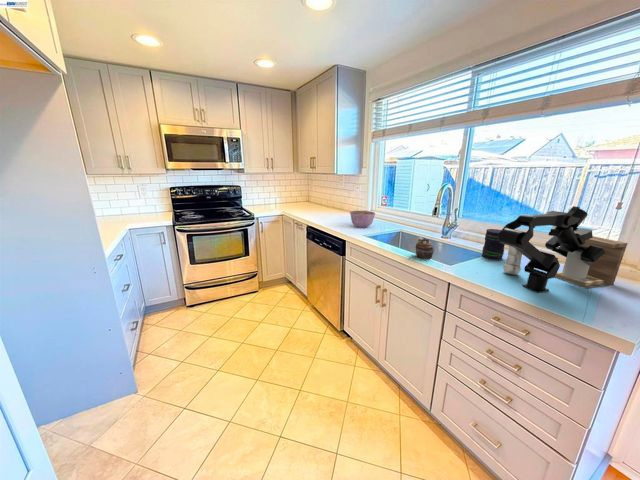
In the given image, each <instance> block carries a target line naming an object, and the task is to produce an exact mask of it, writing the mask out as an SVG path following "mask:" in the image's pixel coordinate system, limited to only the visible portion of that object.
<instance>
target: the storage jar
mask: <svg viewBox="0 0 640 480" xmlns="http://www.w3.org/2000/svg"><path fill="white" fill-rule="evenodd" d="M501 230H502V229H496V228H495V229H494V228H488V229H486V231H485V236H484V245H483V247H482V253H481V257H482V258H484V259H486V260H490V261H502V260H503V257H504V254H505V253H504V252H505V244H502V243H500V242H499V240H498V239H499V238H498V234H499V232H500V231H501Z"/></svg>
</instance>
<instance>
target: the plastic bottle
mask: <svg viewBox="0 0 640 480" xmlns="http://www.w3.org/2000/svg"><path fill="white" fill-rule="evenodd" d="M522 257H523V254H522V253H520V252H519V251H518V250H517V249H515V248H514V247H511V246H508V250H507V256H506V259H505V262H504V264H503V268H502V270H503V272H504V273H505V274H507V275H512V276H513V275H514V276H517V275H519V274H520V272H521V262H522Z"/></svg>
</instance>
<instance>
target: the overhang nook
mask: <svg viewBox="0 0 640 480" xmlns="http://www.w3.org/2000/svg"><path fill="white" fill-rule="evenodd" d="M592 236H593V238H590V239H588V240H586V241H585V244H584V245H581V246H584V247H589V246H590V245H594V246H598V247H602V248H604V250H605V253H604V254H603V255H602V256H601V257H600V258H599V259H597V260H596V261H595V262H593V264H592V265H591V266H590V267H589V270H588V273H587V276H586V278H584V279H581V280H579V279H573V278H569V277H566V276H565V275H564V274H563V273H562V271H560V272H559V271H557V274H556V276H555V277H554V278H555V279H558V280H560V281H563V282H566V283H569V284H571V285H575V286H577V287H580V288H583V289H592V288H599V287H601V288H602V287H606V286H614V285H615V282H616V278H617V275H618V273H619V270H620V267H621V264H622V261H623V258H624V255H625V252H626V249H627V246H628V242H624V241H618V240H614V239H610V238H609V239H608V238H604V237H598V236H594V235H592Z"/></svg>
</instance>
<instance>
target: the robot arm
mask: <svg viewBox="0 0 640 480" xmlns="http://www.w3.org/2000/svg"><path fill="white" fill-rule="evenodd" d="M587 217H588V212H586V211H585V210H583V209H582V208H580V206H574V205H573V206H572V207H571V208H570V209H569V210H568V211H567V212H564V211H555V210H550V211H546V212H545V213H542V214H525V213H524V214H520V215H519V216H517V218H516V219H515V220H512V221H510V222H509V223H506V224H505V225H504V226H503V228H502V229H500V230H501V231H500V232H499V234H498V238H499V239H498V240H499V242H500V243H502V244H505V245H506V246H508V247H509V246H511V247H514V248H515V249H517V250H518V251H519V252H520V253H522V256H524V257H525V258H526V259H528V260H529V261H528V262H527V264H526V265H525V266H524V272H525V273H529V274H528V278H527V283H525V284H522V287H523V288H525V289H529V290H531V291H533V292H535V293H546V292H550V289H549V288H547V285H548V281H549V280H550V279H554V278H555V276H556V274H557V273H558V272H559V269H560V267H561V263H560V261H559V257H556V255H555V254H553V253H549V252H545V251H541V250H539V249H538V248H537V247H536V246H534V244H532V243H531V242H530V241H531V240H532V239H533V237H534V229H535V228H536V227H541V226H542V227H546V226H552V227H551V229H550V231H549V232H548V236H550V238H549V240H548V241H546V242H545V244H544V247H545V248H546V249H548V250H550V251H551V252H554V253H557V254H558V255H559V256H562V257H564V258H566V257H567V254H568V252H571V253H573V252H574V251H579V252H582V253H581V260H582V261H583V262H585V263H586V264H588V265H590V266H591V265H592V264H593V262H595V261H596V260H597V259H599V258H600V257H601V256H602V255H603V254H604V253H605V250H604V248H602V247H598V246H594V245H590V246H589V247H584V246H581V245H584V244H585V241H586V240H588V239H590V238H593V236H594V235H593V230H592V229H590V228H584V227H583V228H582V227H579V226H580V225H581V223H583V221H585V219H586V218H587ZM523 226H524V227H528V230H527V231H522V230H517V229H518V228H520V227H523Z"/></svg>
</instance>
